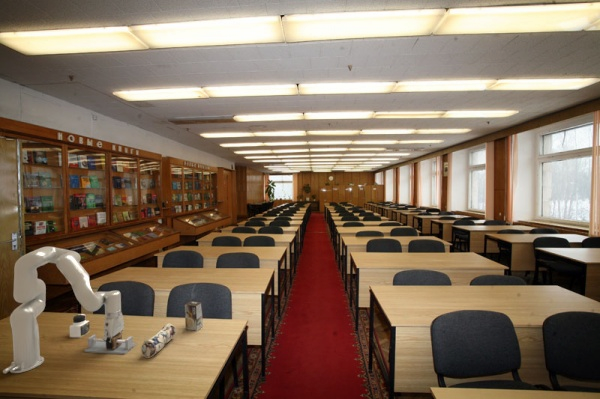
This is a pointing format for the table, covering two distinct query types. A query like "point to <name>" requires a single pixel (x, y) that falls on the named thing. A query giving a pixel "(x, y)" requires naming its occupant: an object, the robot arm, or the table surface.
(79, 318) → the medicine bottle
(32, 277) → the robot arm
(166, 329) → the pencil case
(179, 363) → the table surface
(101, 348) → the rail
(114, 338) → the keeper
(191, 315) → the coffee box
